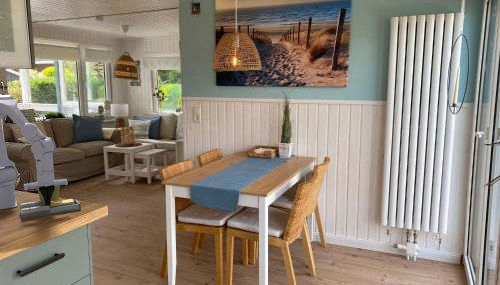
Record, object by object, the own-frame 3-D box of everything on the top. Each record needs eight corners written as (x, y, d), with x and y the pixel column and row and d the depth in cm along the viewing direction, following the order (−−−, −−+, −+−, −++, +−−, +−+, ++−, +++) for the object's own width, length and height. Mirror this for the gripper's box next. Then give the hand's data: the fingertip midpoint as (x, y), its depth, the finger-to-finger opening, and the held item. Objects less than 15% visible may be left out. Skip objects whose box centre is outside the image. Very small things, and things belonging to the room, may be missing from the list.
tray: (47, 209, 151) (47, 203, 151) (77, 204, 157) (76, 199, 157) (50, 214, 145) (49, 208, 145) (80, 209, 151) (80, 203, 151)
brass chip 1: (48, 206, 150) (49, 199, 150) (59, 206, 152) (61, 200, 152) (49, 208, 146) (51, 202, 147) (61, 209, 149) (62, 203, 149)
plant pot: (31, 206, 155) (29, 185, 154) (52, 200, 163) (51, 179, 162) (46, 209, 151) (44, 188, 149) (67, 203, 159) (66, 182, 158)
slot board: (20, 212, 147) (19, 203, 146) (47, 208, 152) (46, 199, 151) (22, 219, 140) (21, 210, 139) (50, 214, 145) (49, 205, 144)
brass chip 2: (61, 206, 152) (61, 200, 152) (72, 205, 155) (72, 198, 154) (63, 209, 149) (62, 203, 149) (74, 207, 151) (73, 201, 151)
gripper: (23, 174, 139) (26, 211, 141) (68, 170, 146) (70, 204, 148) (22, 171, 144) (25, 206, 146) (64, 166, 152) (67, 200, 154)
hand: (47, 205), depth 148 cm, fingers closed
